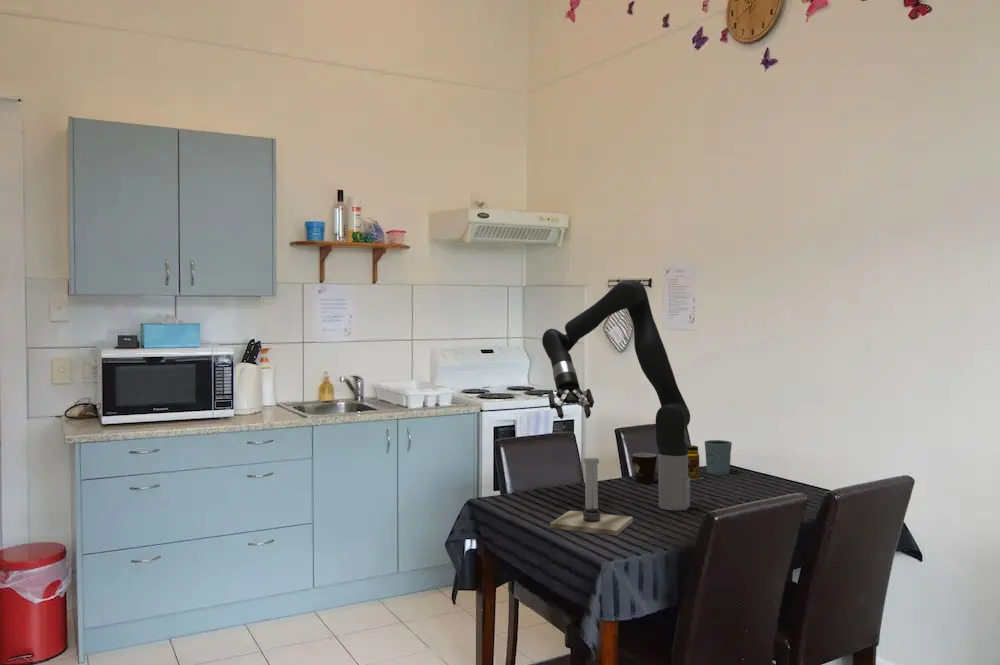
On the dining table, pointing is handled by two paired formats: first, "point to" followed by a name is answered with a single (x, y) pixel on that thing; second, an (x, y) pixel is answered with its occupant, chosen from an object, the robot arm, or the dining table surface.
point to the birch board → (592, 523)
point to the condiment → (693, 463)
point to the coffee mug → (644, 467)
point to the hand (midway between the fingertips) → (575, 416)
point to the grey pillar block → (591, 490)
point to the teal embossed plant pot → (718, 457)
